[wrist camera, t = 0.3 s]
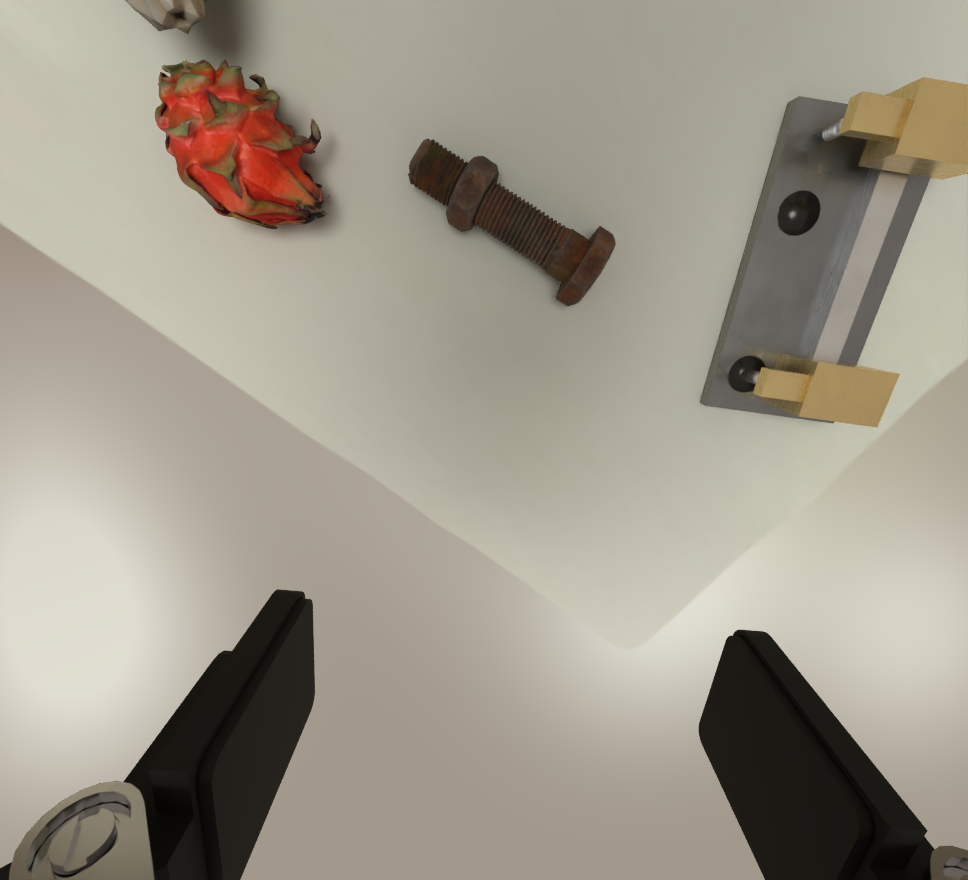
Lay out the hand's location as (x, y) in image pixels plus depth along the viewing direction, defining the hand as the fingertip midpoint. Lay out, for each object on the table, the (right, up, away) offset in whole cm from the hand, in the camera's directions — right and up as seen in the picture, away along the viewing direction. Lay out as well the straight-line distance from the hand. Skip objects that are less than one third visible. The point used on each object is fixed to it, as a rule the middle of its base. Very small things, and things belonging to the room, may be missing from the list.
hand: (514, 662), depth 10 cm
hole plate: (+25, +18, +26) cm, 40 cm away
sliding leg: (+27, +26, +21) cm, 43 cm away
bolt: (+1, +22, +25) cm, 34 cm away
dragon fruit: (-17, +25, +24) cm, 39 cm away
